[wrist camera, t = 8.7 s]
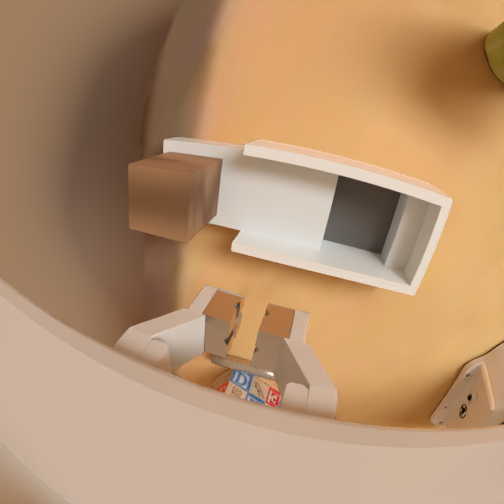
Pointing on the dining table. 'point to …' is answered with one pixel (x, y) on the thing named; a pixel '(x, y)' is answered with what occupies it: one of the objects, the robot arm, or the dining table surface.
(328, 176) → the channel
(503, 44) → the plant pot
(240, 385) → the stack of blocks
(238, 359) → the steel rod
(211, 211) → the walnut block
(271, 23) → the dining table surface
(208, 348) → the robot arm
